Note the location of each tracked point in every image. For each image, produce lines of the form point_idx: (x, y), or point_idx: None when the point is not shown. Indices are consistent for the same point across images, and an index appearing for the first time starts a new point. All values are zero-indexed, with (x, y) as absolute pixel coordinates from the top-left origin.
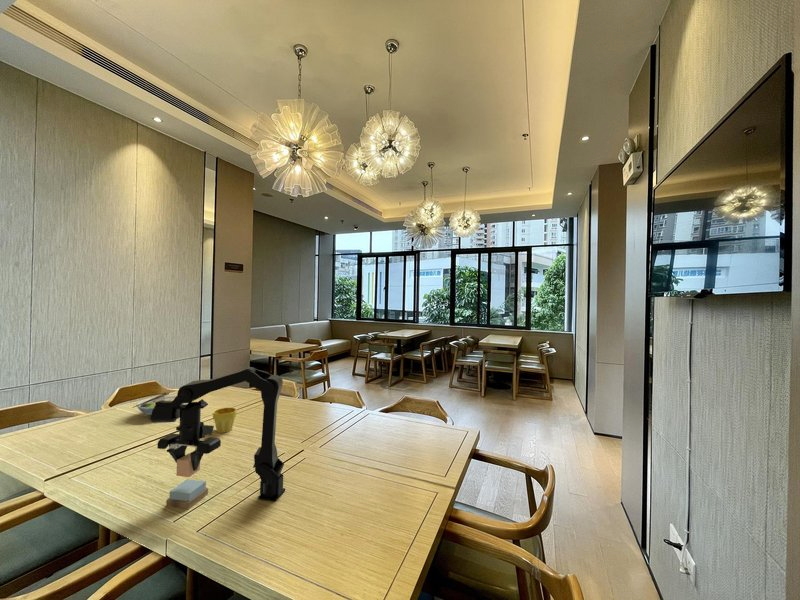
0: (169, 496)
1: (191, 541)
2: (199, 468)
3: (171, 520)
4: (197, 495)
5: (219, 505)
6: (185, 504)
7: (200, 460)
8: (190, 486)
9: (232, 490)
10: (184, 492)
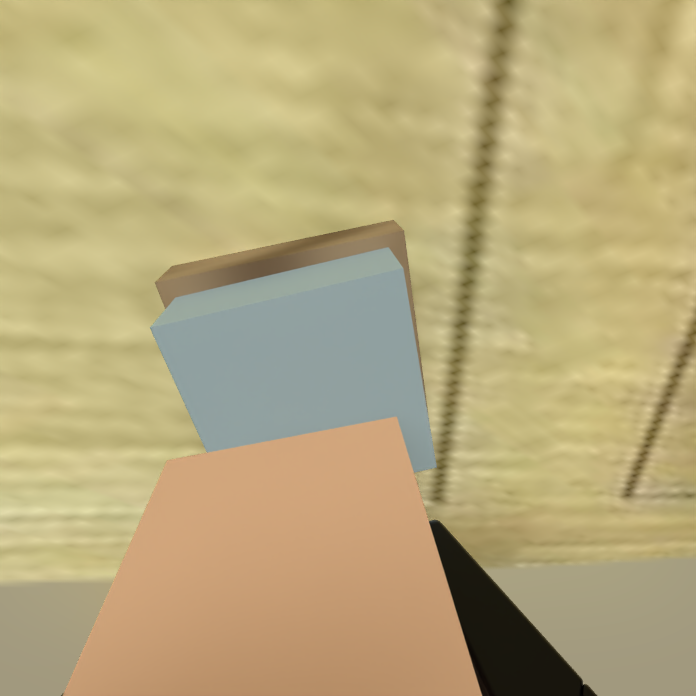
0: None
1: (645, 540)
2: (401, 440)
3: None
4: None
5: (604, 296)
6: None
7: (559, 657)
8: (337, 402)
9: (581, 70)
10: None
